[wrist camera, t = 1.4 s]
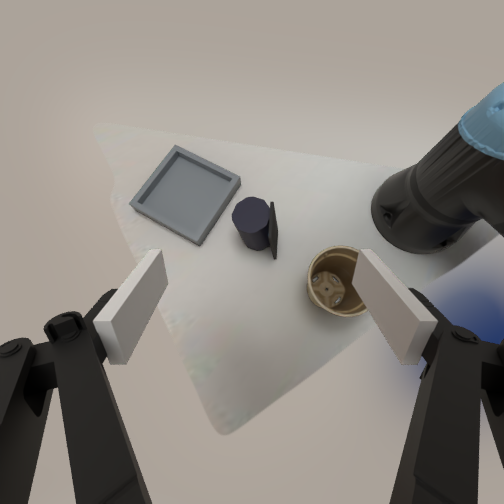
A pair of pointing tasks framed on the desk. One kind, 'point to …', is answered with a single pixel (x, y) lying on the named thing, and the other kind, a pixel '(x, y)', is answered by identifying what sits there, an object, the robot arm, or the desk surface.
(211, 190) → the tray
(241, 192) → the desk surface
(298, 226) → the desk surface
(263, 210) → the dark cylinder with plate
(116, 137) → the desk surface
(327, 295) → the flower pot
